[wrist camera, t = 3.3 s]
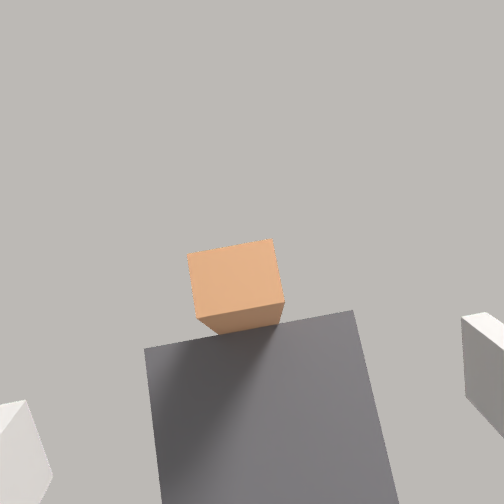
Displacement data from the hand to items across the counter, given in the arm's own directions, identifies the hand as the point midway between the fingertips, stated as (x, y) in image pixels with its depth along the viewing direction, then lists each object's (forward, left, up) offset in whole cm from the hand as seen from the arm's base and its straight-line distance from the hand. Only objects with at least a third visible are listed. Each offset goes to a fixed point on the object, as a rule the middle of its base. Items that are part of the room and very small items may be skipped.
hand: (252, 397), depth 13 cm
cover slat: (0, +20, +3) cm, 20 cm away
